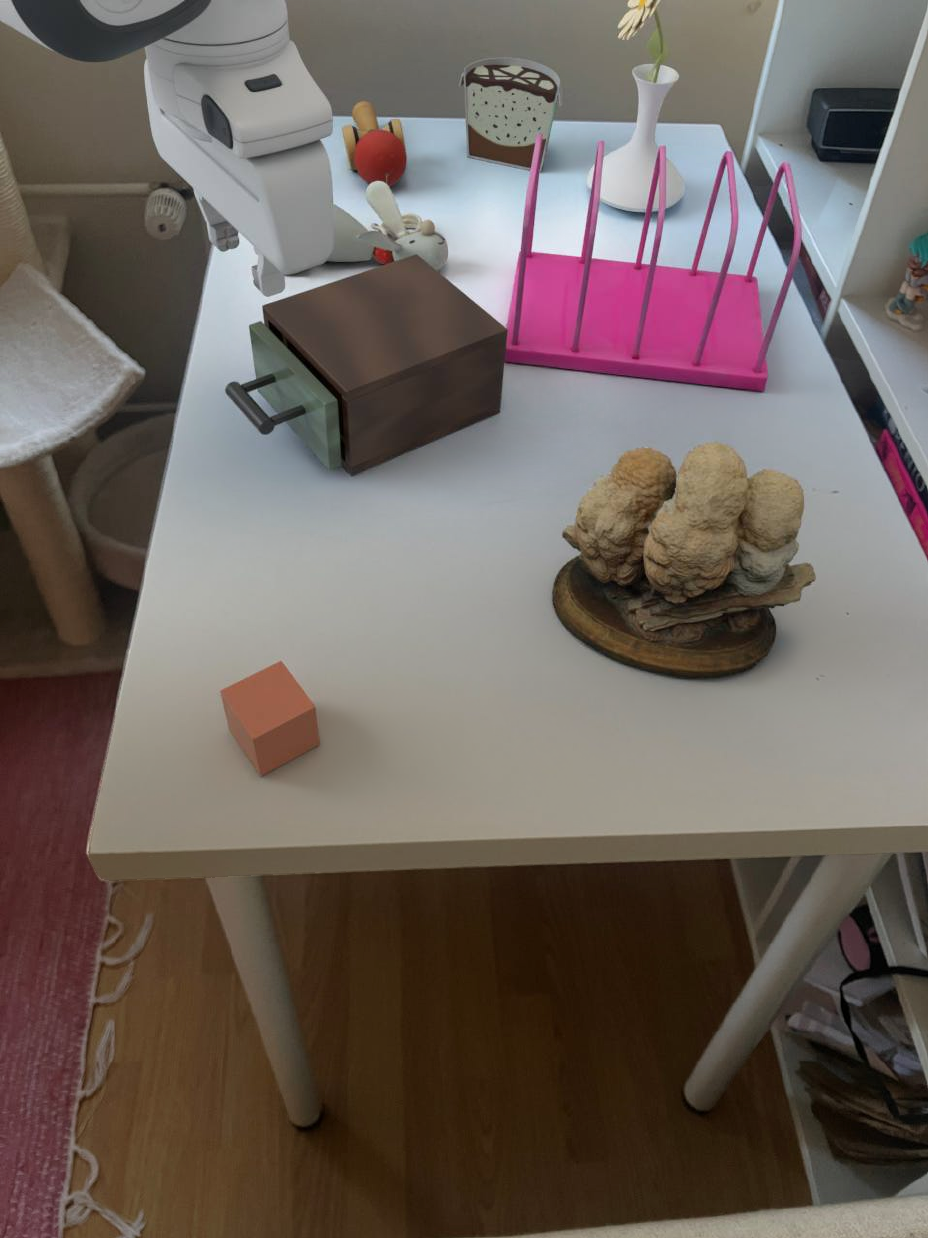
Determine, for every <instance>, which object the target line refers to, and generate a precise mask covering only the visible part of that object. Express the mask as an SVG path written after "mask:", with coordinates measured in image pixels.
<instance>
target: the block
mask: <svg viewBox="0 0 928 1238" xmlns="http://www.w3.org/2000/svg"><path fill="white" fill-rule="evenodd" d="M219 691H220V692H219V693H220V697H221V702H222V706H223V710H224V714H225V719H226V722H227V723H226V724H227V726H228V727H227V728H228V730H229V732H230V733H231V735H232V736H233V738H234V739H235V741H236V742H237V743H238V746H239V747H240V748H241V750H242V751H243V753H244V754H245V755H246V758H247V759H248V760H249V762H250V763H251V765H252V766H253V768H254V769H255V771H256V772H257V774H258V775H259V777H263V776H265V775H267V774H268V773H271V772H272V771H274V770H276V769H277V768H279V767H282V766H283V765H285V764H287V763H289V762H290V761H292V760H294V759H296V758H298V757H299V756H301V755H303V754H305V753H307V752H309V751H311V750H312V749H314V748H317V747H318V746H319V745H320V744H321V742H320V734H319V726H318V718H317V709H316V708H317V707H316V705H315V704H314V703H313V701H312V700H311V698H309V696H308V694H307V693H306V692H305V690H304V689H303V688H302V687H301V685H300V683H299V682H298V681H297V680H296V678H295V677H294V675H293V674H292V673H291V671H290V670H289V668H288V667H287V666H286V664H285V663H284V662H283V661H282V660H279V661H277V662H275V663H273V664H271V665H270V666H267V667H266V668H263V669H261V670H259V671H258V672H255V673H253V674H251V675H249V676H247V677H245V678H243V679H241V680H239V681H237V682H235V683H232V684H231V685H229V686H227V687H224V688H223V689H221V690H219Z"/></svg>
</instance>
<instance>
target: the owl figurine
mask: <svg viewBox="0 0 928 1238" xmlns="http://www.w3.org/2000/svg"><path fill="white" fill-rule="evenodd" d="M671 460H672V459H671V458H670V456H668V455H667V454H665V453H663V452H662V451H660V450H656V449H652V448H651V447H645V446H642V447H636V448H634V449H631V450H626V451H624V452H623V453H622V454H621V455H620V456H619V457H618V459H617V463H616V464H615V465H614V466H613V467H612V469H611V471H610V473H607V474H605V475H600V476H598V477H597V478H596V479H595V480H594V481H593V485H592V486H591V487H590V488H589V489H588V490H587V492H586V493H585V494H584V495H583V496H582V497H581V499H580V500H579V504H578V508H577V511H576V516H575V521H574V525H573V524H568V525H566V527H564V528H563V530H562V534H561V536H562V538H563V539H564V540H565V541H566V542H567V543H568V545H570V546H571V548H572V549H574V550H577V551H578V552H579V553H580V554H579V555H576V556H575V557H574V558H571V559H570V560H568V561H566V563H565V564H564V565H562V567H561V568H560V569H559V571H558V572H557V574H556V576H555V579H554V582H553V585H552V591H551V593H552V595H551V596H552V597H551V602H552V606H553V608H554V609H555V614H556V616H557V618H558V620H559V621H560V622H561V624H562V625H563V627H564V628H565V629H566V630H567V631H568V632H570V634H572V635H573V636H574V637H575V638H577V639H578V640H579V641H581V642H582V643H584V645H586V646H588V647H590V648H591V649H593V650H594V651H597V652H598V653H600V654H602V655H604V656H605V657H607V658H610V659H612V660H614V661H616V662H619V663H621V664H623V665H627V666H629V667H632V668H636V669H640V670H643V671H646V672H647V671H648V672H650V673H655V674H661V675H665V676H669V677H674V678H682V679H710V678H711V679H712V678H717V679H718V678H722V677H726V676H727V677H728V676H732V675H733V676H734V675H736V674H740V673H744V672H746V671H749V670H752V669H754V667H756V666H757V664H758V663H759V664H760V662H761V661H762V660H763V659H764V658H766V657H767V656H768V655H769V653H770V651H771V649H772V648H773V646H774V644H775V643H776V638H777V623H776V622H777V621H776V618H775V616H774V615H773V613H772V611H771V610H772V609H775V608H776V607H785V606H787V605H790V604H791V603H797V602H800V601H801V599H802V591H803V589H804V588H806V587H809V586H811V585H812V583H814V582H815V581H816V579H817V575H816V573H815V571H814V566H813V565H812V564H811V563H810V562H802V563H796V564H793V565H790V563H791V562H792V561H793V560H794V557H795V556H796V554H798V551H799V550H800V543H799V541H798V540H797V537H798V535H799V532H800V529H801V526H802V520H803V519H802V518H803V514H804V510H805V494H804V489H803V487H802V485H801V484H800V482H799V480H797V479H796V478H794V477H793V476H791V475H788V474H786V473H784V472H781V471H778V470H776V469H766V468H763V469H762V470H759V471H757V472H756V473H755V474H753V475H752V476H751V475H750V477H748V472H747V468H746V464H745V461H744V460H743V459H742V457H741V456H740V455H739V454H738V452H737V451H736V450H735V449H734V448H733V447H732V446H730V445H728V444H725V443H722V442H718V441H715V442H706V443H704V444H700V445H698V446H697V447H694V448H693V449H692V450H689V451H688V453H687V454H686V456H685V458H684V460H683V462H682V463H681V465H680V467H679V468H678V471H676V467H675V466H674V465H673V463H672V461H671Z"/></svg>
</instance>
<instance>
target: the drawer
mask: <svg viewBox="0 0 928 1238" xmlns="http://www.w3.org/2000/svg"><path fill="white" fill-rule="evenodd" d="M248 329H249V337H250V344H251V351H252V359H253V360H252V361H253V366H254V374H255V379H252V380H249V381H247V382H244V383H242V384H240V383H239V381H231V382H229V383H227V385H226V386H225V389H224V393H225V394H226V395H227V396H228V398H229V399H230V400H231V402H233V404H234V405H235V406H236V407H237V408H238V409H239V410H240V412H241V413H242V414H243V415H244V416H245V417H246V418H247V420H248V421H249V422H250V423H251V424H252V426H253V427H254V428H255V429H256V430H257V431H258V432H259V433H260V434H261V435H263V436H268V435H269V434H271V433H273V431H274V429H275V426H278V425H280V424H283V423H286V424H287V426H289V427H290V429H291V430H292V431H293V432H294V433H295V434H296V435H297V436H298V437H299V439H300V440H301V441H302V443H304V444H305V445H306V447H308V448H309V450H310V451H311V452H312V453H313V454H314V455H315V456H316V457H317V458H318V459H319V461H320V462H321V463H322V464H323V465H324V466H325V467H326V468H327V470H328V471H333V470H335V469H337V468H339V467H342V463H341V447H340V440H341V441H342V442H343V443H344V444H345V442H344V424H343V407H342V395H341V394H340V393H339V392H338V391H337V389H336V388H335V387H334V386H333V385H332V384H331V383H330V382H329V381H328V380H327V379H326V378H325V377H324V376H323V375H322V374H321V373H320V372H319V371H318V370H317V369H316V368H315V367H314V366H313V365H312V364H311V363H310V362H309V361H308V360H307V359H306V358H305V357H304V356H303V355H302V354H301V353H300V352H299V351H298V350H297V349H296V348H295V347H294V346H293V345H292V344H291V342H290V341H289V340H288V339H287V338H286V337H285V336H284V335H283V334H282V338H283V343H282V342H281V341H280V340H279V339H278V338H277V337H276V336H275V335H274V334H273V333H272V332H271V331H270V330H269V329H268V328H267V327H266V326H265V325H264V321H261V320H259V321H256V322H254V323H250V324H249V325H248ZM255 390H257V392H258V393H259V394H260V396H262V398H263V399H264V400H265V401H266V402H267V403H268V404H269V405H270V407H271V408H273V410H274V411H275V412H276V414H274V415H271V416H269V415H268V413H266V411H265V410H264V409H263V407H261V406H260V405H259V404H258V403H257V402H256V400H255V399H254V398H253V397H252V396H251V394H249V393H251V392H252V391H253V392H254V391H255Z"/></svg>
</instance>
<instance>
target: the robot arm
mask: <svg viewBox="0 0 928 1238" xmlns="http://www.w3.org/2000/svg"><path fill="white" fill-rule="evenodd" d="M288 13H289V12H288V8H287V3H286V0H0V22H1V23H3V24H5V25H6V26H8V27H10V28H12V29H13V30H15V31H17V32H19V33H21V35H24V36H25V37H27V38H29V39H30V40H32V41H33V42H35V43H36V44H38V45H40V46H42V47H44V48H46V49H47V50H49V51H53V52H54V53H56V54H58V55H61V56H63V57H66V58H68V59H72V60H75V61H79V62H83V63H104V62H110V61H114V60H118V59H120V58H122V57H126V56H128V55H130V54H132V53H134V52H137V51H139V50H142V49H144V53H145V57H146V59H145V61H144V64H143V65H144V66H143V75H144V77H143V78H144V87H145V88H144V89H145V95H146V103H147V104H146V105H147V111H148V119H149V126H150V131H151V135H152V140H153V142H154V145H155V148H156V150H157V153H158V154H159V156H160V158H161V159H162V160H163V161H164V162H165V163H166V164H167V165H169V166H170V168H171V169H173V170H174V171H175V172H176V173H177V174H178V175H179V176H180V177H181V178H182V179H183V180H184V181H185V182H186V183H187V184H188V185H189V186H190V187H192V189H193V194H194V197H195V199H196V201H197V204H198V206H199V209H200V212H201V214H202V216H203V219H204V221H205V222H206V228H207V234H208V240H209V242H210V243H211V244H212V245H213V246H215V247H216V249H218V250H219V251H220V252H221V253H222V252H223V253H225V252H227V251H229V250H234V249H237V248H238V247H239V245H240V237H239V234H240V235H242V237H243V238H245V240H247V241H248V242H249V243H250V244H251V245H252V246H253V251H254V254H256V255H257V256H258V258H257V264H255V265H252V266H251V275H252V278H253V279H252V281H253V285H254V287H255V288H256V289H257V290H258V291H259V292H260V293H261V295H263V296H264V297H266V298H269V297H272V296H276V295H278V294H282V293H283V292H284V291H285V289H286V277H285V275H294V274H293V273H296V274H298V273H297V272H299V273H301V272H304V271H307V270H309V269H312V268H315V267H318V266H321V265H323V264H324V263H326V262H328V261H327V259H328V258H329V256H330V255H331V253H332V251H333V246H334V205H333V204H334V188H333V176H332V169H331V162H330V158H329V155H328V152H327V150H326V147H325V145H324V143H323V141H322V139H325V138H328V137H330V136H331V135H332V134H333V131H334V130H333V129H334V117H333V110H332V106H331V103H330V102H329V100H328V98H327V97H326V95H325V94H324V92H323V91H322V90H321V89H320V87H319V86H318V84H317V82H316V81H315V80H314V78H313V77H312V75H311V73H310V71H308V69H307V66H306V65H305V63H304V61H303V59H302V58H301V55H300V52H299V50H298V48H297V46H296V44H295V42H294V41H293V40H291V39H290V27H289V17H288V16H289V14H288ZM300 271H301V272H300Z"/></svg>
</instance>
